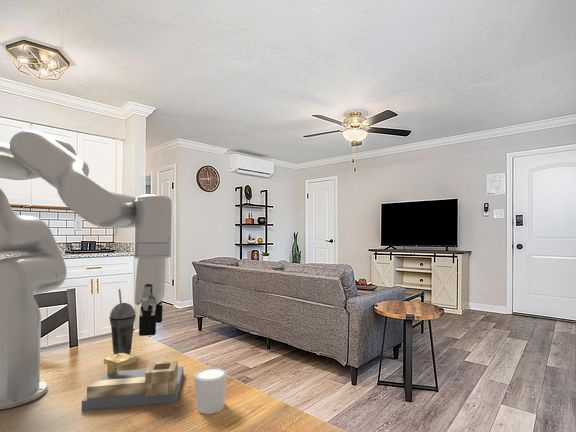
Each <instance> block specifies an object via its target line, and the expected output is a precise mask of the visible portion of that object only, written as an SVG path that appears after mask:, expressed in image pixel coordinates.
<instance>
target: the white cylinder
mask: <svg viewBox="0 0 576 432" xmlns="http://www.w3.org/2000/svg"><path fill="white" fill-rule="evenodd" d="M193 376H194V386H195V396H196V398H195V399H196V408H197V412H199V413H202V414H211V415H212V414H214V413H218V412H220V411H222V410H223V409H224V408H225V399H226V389H227V379H228V372H227V370H226V369H223V368H219V367H208V368H204V369H203V368H202V369H201V370H199V371H197V372H195V373H194V375H193Z"/></svg>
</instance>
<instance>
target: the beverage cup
mask: <svg viewBox="0 0 576 432" xmlns="http://www.w3.org/2000/svg"><path fill="white" fill-rule="evenodd" d="M118 296H119V303H118V304H116V305H115V306H114V307H112V309H111V311H110V314H109V325H110V327H111V328H110V329H111V339H112V340H111V341H112V342H111V343H112V352H113V353H112V354H119V353H125V354H129V355H131V353H132V352H131V351H132V346H133V335H134V328H135V327H134V326H135V320H136V317H137V315H136V310H135V308H134V307H133V306H132V304H130V303H128V302H122V291H121V288H119V289H118Z"/></svg>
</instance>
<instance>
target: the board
mask: <svg viewBox="0 0 576 432" xmlns="http://www.w3.org/2000/svg"><path fill="white" fill-rule="evenodd" d="M184 367H185V366H181V365H180V366H178V382H177V386H176V389H175V393H174V394H168V395H157V396H145V393H144V394H132V395H121V396H109V397H97V398H87V394H86V395H85V396H84V398H83V399H82V400H81V412H83V411H93V410H95V411H96V410H103V409H105V410H106V409H114V408H124V407H125V408H126V407H127V408H128V407H135V406H137V407H138V406H146V405H159V404H167V403H177V400H178V396H179V392H180V388H181V386H182V381H183V377H184ZM147 369H148V368H144V369H131V370H130V369H128V370H117V373H116V374H115V375H107V371H105V372H104V373H103V374H102V376H100V378H99V379H98V380H110V379H123V378H136V377H145V372H146V371H147Z"/></svg>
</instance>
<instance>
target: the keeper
mask: <svg viewBox="0 0 576 432" xmlns="http://www.w3.org/2000/svg"><path fill="white" fill-rule="evenodd" d="M136 360H137V356H135V355H133V354H132V355H131V354H130V355H129V354H125V353H119V354H114V353H112V354H109V355H108V356H107V357H104V358H103V364H104V365H107V369H106V370H107V371H106V372H107V375H115V374H116V373H117V371H118V369H119V368H122V367H125V366H127V365H130V364H132V363H135V362H136Z"/></svg>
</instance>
